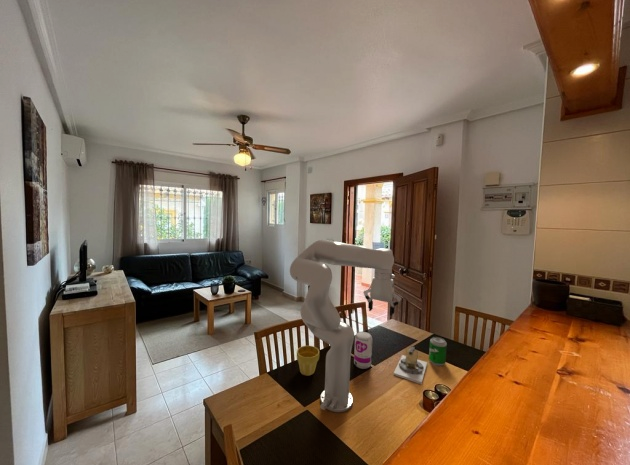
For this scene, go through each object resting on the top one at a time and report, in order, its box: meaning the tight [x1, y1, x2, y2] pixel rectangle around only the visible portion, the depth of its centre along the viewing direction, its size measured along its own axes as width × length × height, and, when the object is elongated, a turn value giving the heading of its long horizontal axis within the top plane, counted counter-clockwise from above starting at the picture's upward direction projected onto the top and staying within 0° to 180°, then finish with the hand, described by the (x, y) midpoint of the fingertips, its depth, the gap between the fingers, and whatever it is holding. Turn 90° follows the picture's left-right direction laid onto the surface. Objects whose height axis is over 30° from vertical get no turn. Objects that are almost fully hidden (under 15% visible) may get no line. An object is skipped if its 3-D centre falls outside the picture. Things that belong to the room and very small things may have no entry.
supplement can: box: [353, 331, 373, 370], centre depth 127 cm, size 8×8×15 cm
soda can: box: [428, 336, 448, 367], centre depth 131 cm, size 8×8×12 cm
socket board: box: [393, 354, 428, 385], centre depth 125 cm, size 18×12×2 cm, turn 150°
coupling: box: [405, 345, 419, 369], centre depth 125 cm, size 5×6×9 cm
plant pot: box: [296, 345, 320, 376], centre depth 121 cm, size 10×10×10 cm
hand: (380, 312), depth 121 cm, fingers open, 9 cm apart
